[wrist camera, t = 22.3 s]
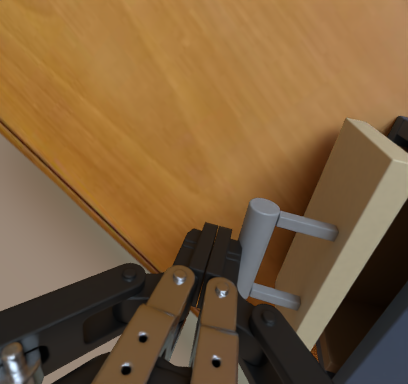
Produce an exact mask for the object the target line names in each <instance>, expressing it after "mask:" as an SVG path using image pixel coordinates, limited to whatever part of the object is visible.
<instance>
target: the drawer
mask: <svg viewBox="0 0 408 384" xmlns="http://www.w3.org/2000/svg"><path fill="white" fill-rule="evenodd" d="M275 224H276V226H277V227H281V228H284V229H288V230H292V231H295V232H296V235H295V237H294V239H293V242H292V244H291V246H290V248H289V251H288V253H287V255H286V258H285V260H284V262H283V265H282V267H281V269H280V272H279V274H278V276H277V279H276V281H275V289H273V288H270V287H267V286H263V285H260V284H256V283H254V280H255V277H256V275H257V272H258V269H259V267H260V264H261V262H262V259H263V256H264V254H265V251H266V248H267V246H268V243H269V240H270V238H271V235H272V232H273V230H274V227H275ZM238 241H240V244H241V246H242V255H241V262H240V269H239V276H238V282H237V288H238V291H239V293H240V295H241V296H242V297H243V298H244V299H245V300H246V299H247V298H248V296H250V297H253V298H256V299H259V300H263V301H266V302H269V303H273V304H275V308H276V309H278V310H279V311H280V312H281V313H282V315H283V316H284V317H285V319H286V320H287V321H288V323H289V324H290V325H291V327H292V328H293V329H294V331H295V332H296V333H297V335H298V336H299V337H300V339H301V340H302V341H303V343H304V344H305V345H306V347H307V348H308V349H309V351H311V349H312V348H313V346H314V344H315V343H316V341H317V340H318V338H320V344H321V350H322V356H323V362H324V368H325V370H326V371H330V372H333V373H337V372H338V371H339V369H340V368H341V367H342V366H343V364H344V363H345V362H346V360H347V359H348V358H349V356H350V355H351V354H352V353H353V351H354V350H355V349H356V347H357V346H358V345H359V343H360V342H361V341H362V340H363V338H364V337H365V336H366V334H367V333H368V332H369V330H370V329H371V328H372V327H373V325H374V324H375V323H376V321H377V320H378V319H379V317H380V316H381V315H382V314H383V312H384V311H385V310H386V308H387V307H388V306H389V305H390V303H391V302H392V301H393V299H394V298H395V297H396V295H397V294H398V293H399V292H400V290H401V289H402V288H403V286H404V285H405V284H406V282H407V281H408V148H406V147H402V146H398V145H396V144H395V143H393V142H392V141H391V140H389V139H388V138H387V137H385V136H384V135H383V134H381V133H380V132H379V131H377V130H376V129H375V128H373V127H372V126H371V125H369V124H368V123H367V122H364V121H359V120H355V119H350V118H346V119H345V121H344V123H343V126H342V128H341V130H340V133H339V135H338V137H337V140H336V142H335V144H334V147H333V149H332V151H331V154H330V156H329V158H328V160H327V163H326V165H325V167H324V170H323V172H322V174H321V177H320V179H319V181H318V184H317V186H316V188H315V191H314V193H313V195H312V198H311V200H310V202H309V204H308V207H307V209H306V211H305V214H304V216H303V217H302V216H299V215H295V214H291V213H287V212H283V211H280V208H279V207H278V205H276V204H275V203H274V202H272V201H270V200H267V199H264V198H254V199H252V200H251V201H250V202H249V205H248V208H247V211H246V215H245V218H244V221H243V225H242V228H241V231H240V234H239V238H238ZM249 293H250V294H249Z"/></svg>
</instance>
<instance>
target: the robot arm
mask: <svg viewBox="0 0 408 384" xmlns="http://www.w3.org/2000/svg"><path fill="white" fill-rule="evenodd" d="M217 229H218V225H214V224H210V223H207V222H205V225H204V227H203V230H202V231H201V230H197V229H192V230H191V231H190V232H188V233H187V235H186V237H185V239H184V241H183V244H182V246H181V248H180V250H179V252H178V254H177V257H176V259H175V261H174V263H173V265H172V266H171V267H169V268H168V269H167V270H166V271H165V272H163V273H159V274H146V273H145V270H144V269H143V268H142V267H141V266H140V265H137V264H134V263H127V264H123V265H120V266H117V267H115V268H112V269H110V270H107V271H104V272H102V273H100V274H97V275H94V276H91V277H89V278H86V279H84V280H81V281H78V282H76V283H73V284H71V285H68V286H65V287H63V288H60V289H58V290H55V291H53V292H50V293H47V294H44V295H42V296H39V297H37V298H34V299H32V300H29V301H26V302H24V303H21V304H18V305H16V306H14V307H10V308H8V309H5V310H3V311H0V384H42V381H43V378H44V376H46V375H48V374H50V373H52V372H53V371H55V370H57V369H59V368H61V367H62V366H64V365H66V364H68V363H70V362H72V361H73V360H75V359H77V358H79V357H81V356H83V355H84V354H86V353H88V352H90V351H92V350H94V349H95V348H97V347H99V346H101V345H103V344H105V343H106V342H108V341H110V340H112V339H114V338H115V337H117V336H119V335H121V334H122V335H121V336H120V338H119V340H118V341H117V343H116V344H115V346H114V348H113V349H112V351H111V352H108V353H105V354H101V355H99V356H97V357H95V358H93V359H91V360H90V361H88V362H86V363H85V364H83V365H81V366H80V367H78V368H77V369H75V370H73V371H71V372H70V373H68V374H67V375H65V376H63V377H62V378H60V379H58V380H57V381H55V382H53V383H52V384H238V383H237V382H238V363H239V365H240V366H241V368H242V370H243V372H244V374H245V376H246V378H247V379H248V382H249V384H334V383H333V381H332V380H331V379H330V377H329V376H328V375H327V373H326V372H325V371H324V369H323V368H322V367H321V365H320V364H319V363H318V361H317V360H316V359H315V357H314V356H313V355H312V353H311V352H310V351H309V349H308V348H307V347H306V345H305V344H304V343H303V341H302V340H301V339H300V337H299V336H298V335H297V333H296V332H295V331H294V329H293V328H292V327H291V325H290V324H289V323H288V321H287V320H286V319H285V317H284V316H283V315H282V313H281V312H280V311H279V310H278V309H276V308H275V307H273V306H271V305H268V304H259V305H257V306H254V305H252V304H251V303H249V302H247V301H246V300H245V299H244V298H243V297H242V296H241V295H240V293H239V291H238V288H237V282H238V276H239V269H240V262H241V255H242V246H241V244H240V241H237V240H233V239H230V238H231V233H232V229H229V228H225V227H221V226H219V229H218V232H217ZM216 233H217V236H216ZM215 237H216V239H215ZM214 241H215V242H214ZM213 245H214V246H213ZM202 284H203V285H202ZM201 287H202V289H201ZM200 291H201V293H200ZM199 294H200V297H199ZM198 297H199V301H198ZM197 301H198V305H197V308H200V313H199V317H198V321H197V325H196V330H195V336H194V341H193V346H192V352H191V357H190V362H189V367H178V366H174V365H173V364H171V363H170V362H169V361H170V358H171V355H172V353H173V351H174V348H175V345H176V343H177V341H178V338H179V336H180V334H181V331H182V329H183V326H184V324H185V321H186V318H187V316H188V314H189V311H190V308H191V306H193V307H196V304H197Z"/></svg>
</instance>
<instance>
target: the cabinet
mask: <svg viewBox="0 0 408 384" xmlns="http://www.w3.org/2000/svg"><path fill="white" fill-rule="evenodd" d="M387 138H388V139H389V140H391V141H392V142H393V143H395V144H396V145H398V146H402V147H406V148H408V117H404V116H398V118H397V119H396V121H395V123H394V125H393V127H392V129H391V131H390V133H389V135H388V137H387ZM316 348H317V354H318V360H319V364H320V365H321V367H322V368H323V369H324V371H325V372H326V373H327V375H328V376H329V377H330V379H331V380H332V381H333V383H334V384H408V281H407V282H406V284H405V285H404V286H403V288H402V289H401V290H400V292H399V293H398V294H397V295H396V297H395V298H394V299H393V301H392V302H391V303H390V305H389V306H388V307H387V308H386V310H385V311H384V312H383V314H382V315H381V316H380V317H379V319H378V320H377V321H376V323H375V324H374V325H373V327H372V328H371V329H370V330H369V332H368V333H367V334H366V336H365V337H364V338H363V340H362V341H361V342H360V343H359V345H358V346H357V347H356V349H355V350H354V351H353V353H352V354H351V355H350V356H349V358H348V359H347V360H346V362H345V363H344V364H343V366H342V367H341V368H340V369H339V371H338V372H337V373H333V372H330V371H326V370H325V368H324V362H323V356H322V350H321V344H320V338H318V340H317V341H316Z"/></svg>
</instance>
